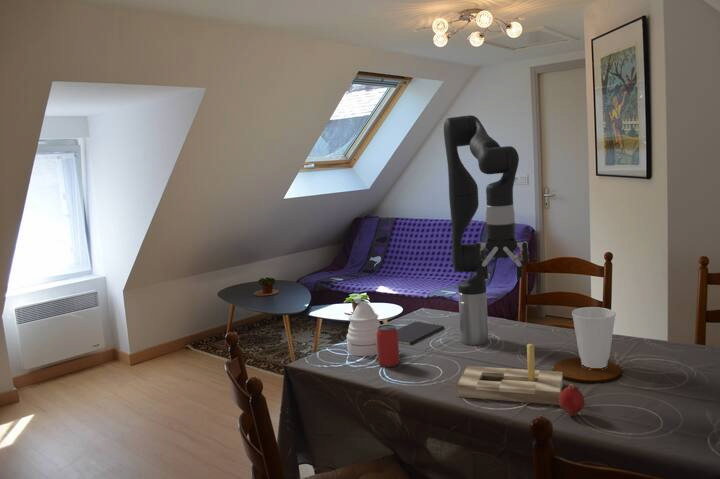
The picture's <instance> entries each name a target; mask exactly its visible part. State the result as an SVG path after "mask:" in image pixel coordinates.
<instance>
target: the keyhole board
mask: <svg viewBox="0 0 720 479" xmlns="http://www.w3.org/2000/svg"><path fill="white" fill-rule="evenodd" d="M563 373H564V372H563V371H553V370H538V369H535V382H530V381H528V369H520V368H519V369H518V368H507V367H505V368H504V367H488V366H473V365H471V366H470V365H467V366H466V368H465V369H464V371H463V374H462V375H461V376H460V378H459V380H458V382H457V385H456V388H457V391H456V392H457V397H458V398H468V399H469V398H470V399H483V400H494V401H496V400H498V401H508V402H509V401H510V402H519V403H531V404H544V405H545V404H546V405H557V406H560V403H559V396H560V394H561V392H562V391H563V384H564V381H563V380H564V377H563V376H564V375H563Z"/></svg>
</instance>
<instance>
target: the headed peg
mask: <svg viewBox="0 0 720 479" xmlns="http://www.w3.org/2000/svg"><path fill="white" fill-rule="evenodd" d="M526 355H527V356H526V357H527V358H526V359H527V361H526V362H527V370H528V381H530V382H535V370H536V369H535V366H536V365H535V364H536V363H535V362H536V361H535V344H533V343H527V344H526Z"/></svg>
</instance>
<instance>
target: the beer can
mask: <svg viewBox="0 0 720 479" xmlns="http://www.w3.org/2000/svg"><path fill="white" fill-rule="evenodd" d="M377 347H378V354H377V358H378V359H377V360H378V361H377V362H378V364H379V365H380V366H381V367H384V368H393V367H395V366H396V367H397V366H398V365H399V364H400V350H399V349H400V348H399V343H398V333H397V327H396V326H395V325H393V324H381V326H379V327H378V331H377Z"/></svg>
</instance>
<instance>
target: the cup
mask: <svg viewBox="0 0 720 479" xmlns="http://www.w3.org/2000/svg"><path fill="white" fill-rule="evenodd" d="M571 315H572V320H573V327H574V332H575V337H576V344H577V350H578V356H579V358H580V362H581V366H582V365H584V366H586V367H590V368H603V367H606V366H607V367H608V360H609V359H610V355H611V347H612V340H613V333H614V326H615V320H616V319H615V318H616V312H615V311H614V310H612V309H610V308H604V307H599V306H598V307H596V306H588V307H587V306H585V307H580V308H575V309H573V310H572V311H571ZM607 367H606V368H607Z"/></svg>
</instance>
